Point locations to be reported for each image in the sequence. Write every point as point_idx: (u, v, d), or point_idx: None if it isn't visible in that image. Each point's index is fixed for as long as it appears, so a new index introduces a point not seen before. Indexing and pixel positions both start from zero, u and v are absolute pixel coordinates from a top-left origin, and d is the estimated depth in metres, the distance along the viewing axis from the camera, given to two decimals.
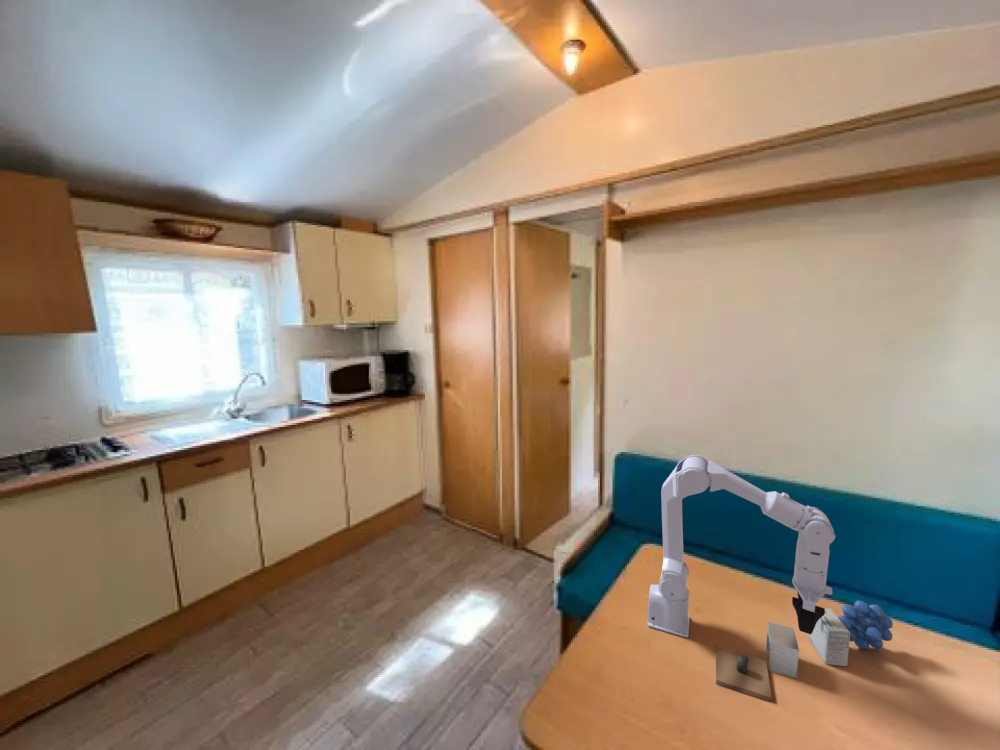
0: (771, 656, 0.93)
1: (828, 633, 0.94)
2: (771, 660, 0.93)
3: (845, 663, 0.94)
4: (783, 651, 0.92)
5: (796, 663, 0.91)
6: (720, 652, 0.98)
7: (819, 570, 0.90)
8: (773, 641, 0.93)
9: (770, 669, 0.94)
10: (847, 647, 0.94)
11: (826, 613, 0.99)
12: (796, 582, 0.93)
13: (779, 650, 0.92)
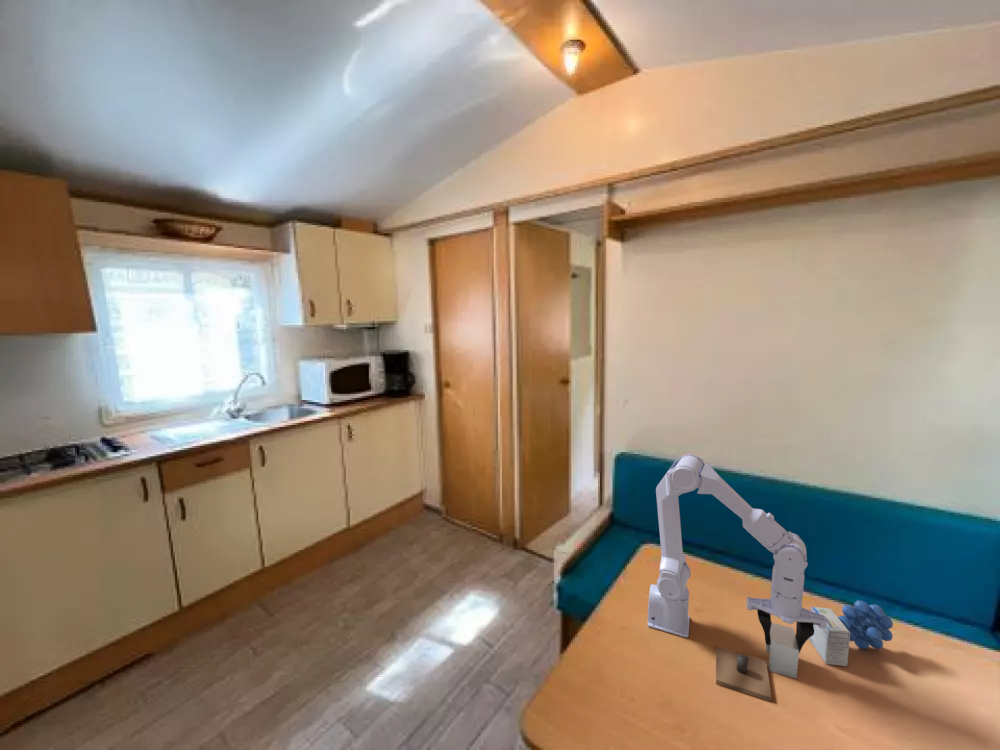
0: (771, 656, 0.93)
1: (828, 633, 0.94)
2: (771, 660, 0.93)
3: (845, 663, 0.94)
4: (783, 651, 0.92)
5: (796, 663, 0.91)
6: (720, 652, 0.98)
7: (792, 596, 0.90)
8: (773, 641, 0.93)
9: (770, 669, 0.94)
10: (847, 647, 0.94)
11: (826, 613, 0.99)
12: None
13: (779, 650, 0.92)
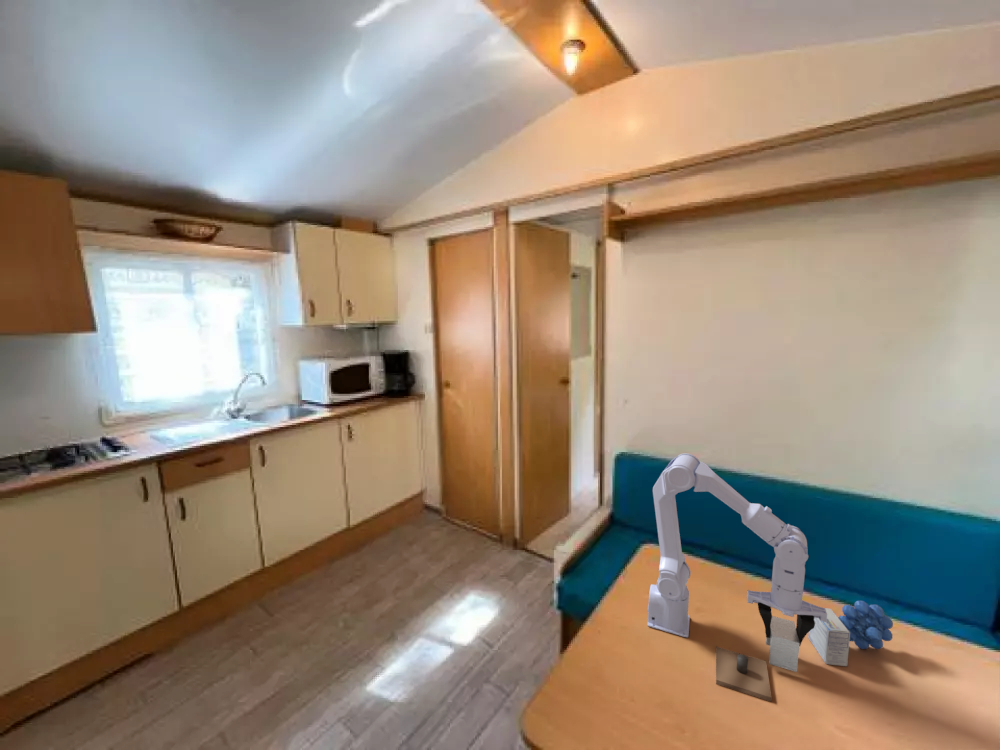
0: (771, 649, 0.93)
1: (828, 633, 0.94)
2: (771, 653, 0.93)
3: (845, 663, 0.94)
4: (783, 644, 0.92)
5: (796, 656, 0.91)
6: (720, 652, 0.98)
7: (793, 589, 0.90)
8: (774, 634, 0.93)
9: (770, 662, 0.93)
10: (847, 647, 0.94)
11: None
12: None
13: (779, 643, 0.92)
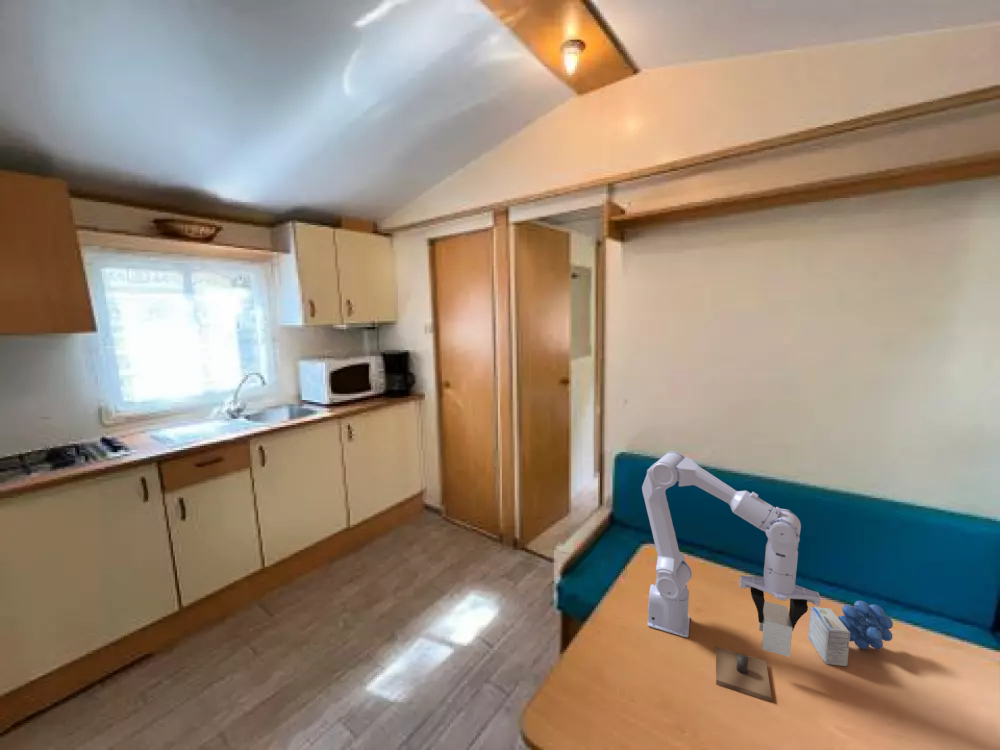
0: (764, 634, 0.92)
1: (828, 633, 0.94)
2: (764, 638, 0.92)
3: (845, 663, 0.94)
4: (776, 629, 0.91)
5: (789, 641, 0.90)
6: (720, 652, 0.98)
7: (784, 572, 0.89)
8: (766, 619, 0.92)
9: (763, 647, 0.92)
10: (847, 647, 0.94)
11: (826, 613, 0.99)
12: None
13: (772, 628, 0.91)
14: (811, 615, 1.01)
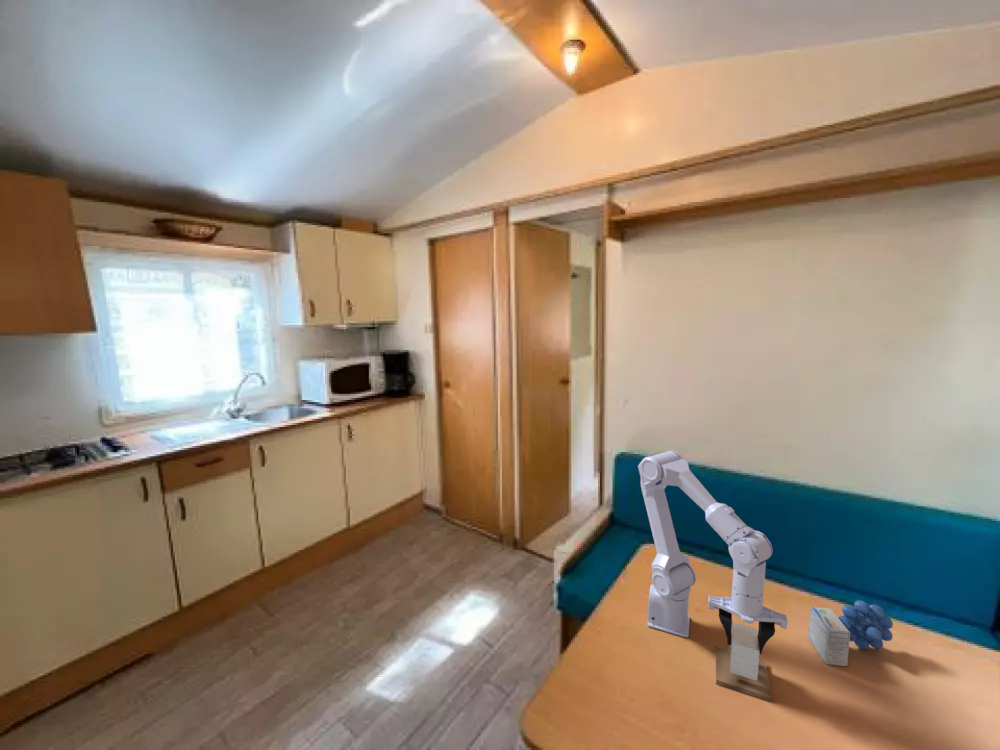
0: (732, 657, 0.90)
1: (828, 633, 0.94)
2: (732, 661, 0.90)
3: (845, 663, 0.94)
4: (744, 652, 0.89)
5: (757, 664, 0.88)
6: (720, 652, 0.98)
7: (745, 593, 0.88)
8: (734, 642, 0.90)
9: (731, 670, 0.91)
10: (847, 647, 0.94)
11: (826, 613, 0.99)
12: None
13: (740, 651, 0.89)
14: (811, 615, 1.01)
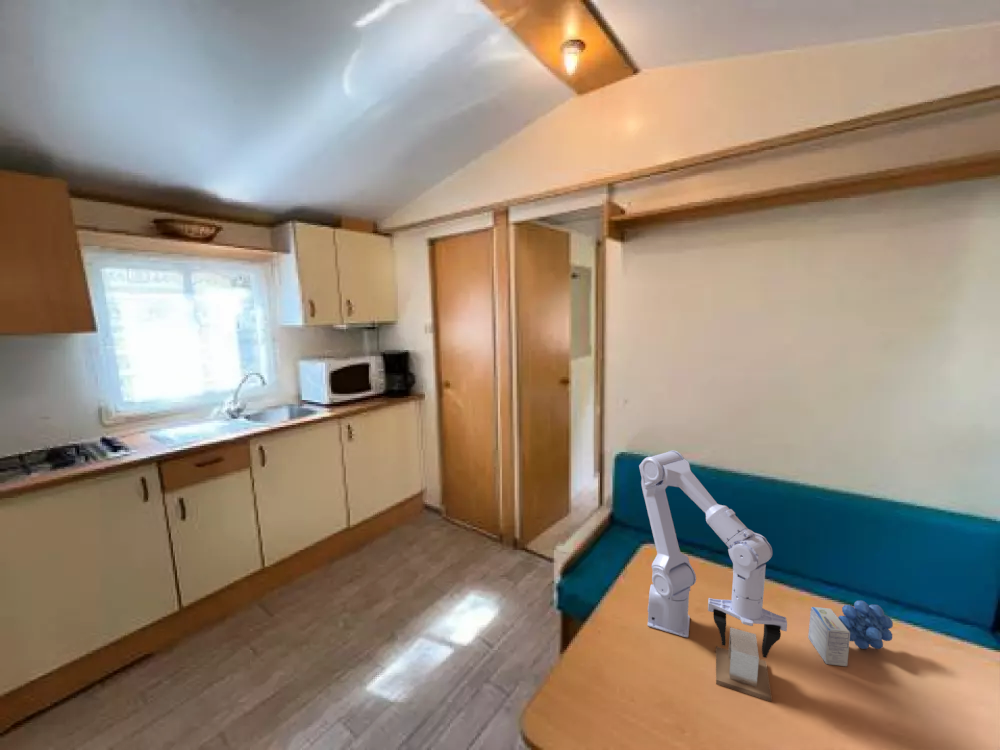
0: (731, 663, 0.90)
1: (828, 633, 0.94)
2: (731, 667, 0.90)
3: (845, 663, 0.94)
4: (743, 658, 0.89)
5: (756, 671, 0.88)
6: (720, 652, 0.98)
7: (745, 595, 0.88)
8: (733, 648, 0.90)
9: (730, 677, 0.91)
10: (847, 647, 0.94)
11: (826, 613, 0.99)
12: None
13: (739, 657, 0.89)
14: (811, 615, 1.01)
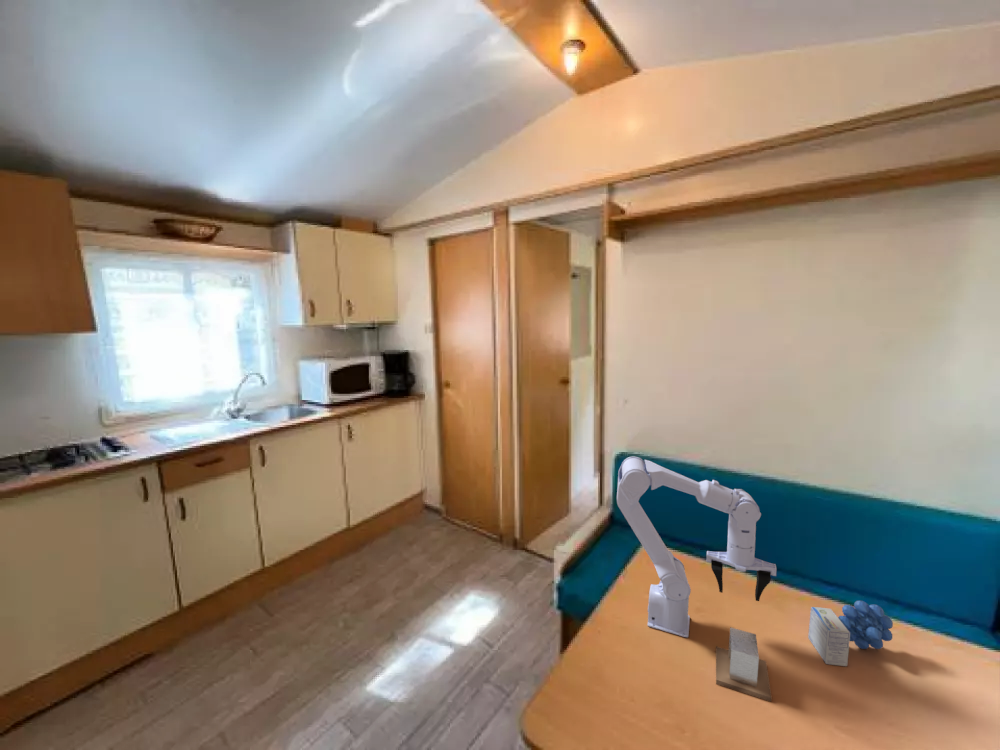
0: (731, 663, 0.90)
1: (828, 633, 0.94)
2: (731, 667, 0.90)
3: (845, 663, 0.94)
4: (743, 658, 0.89)
5: (756, 671, 0.88)
6: (720, 652, 0.98)
7: (749, 546, 0.99)
8: (733, 648, 0.90)
9: (730, 677, 0.91)
10: (847, 647, 0.94)
11: (826, 613, 0.99)
12: None
13: (739, 657, 0.89)
14: (811, 615, 1.01)
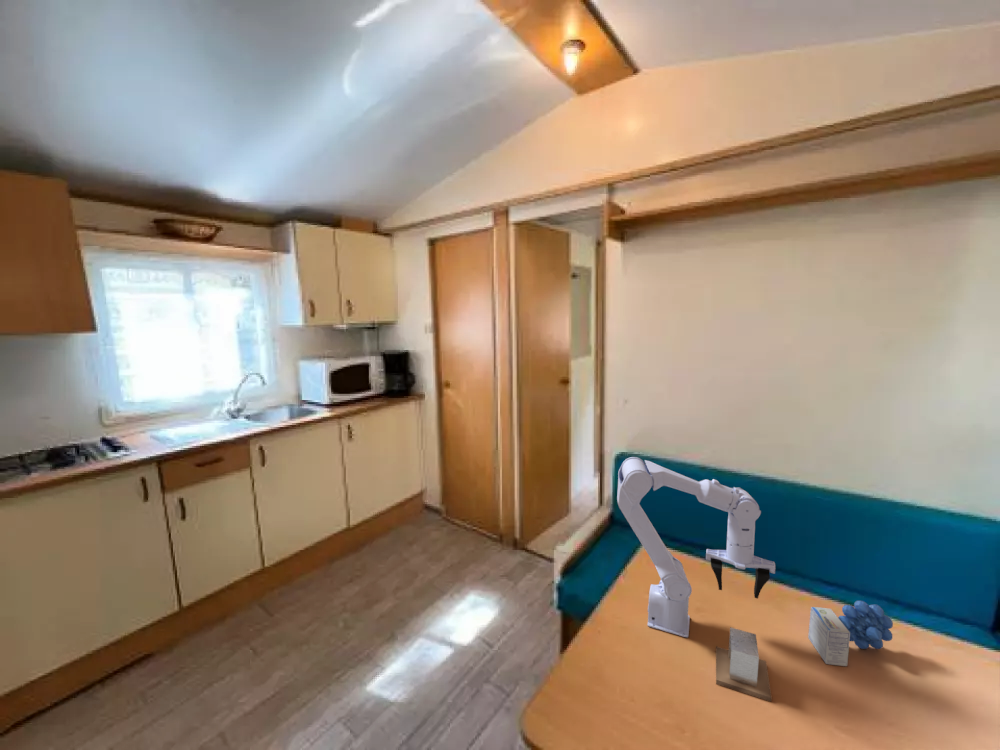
0: (731, 663, 0.90)
1: (828, 633, 0.94)
2: (731, 667, 0.90)
3: (845, 663, 0.94)
4: (743, 658, 0.89)
5: (756, 671, 0.88)
6: (720, 652, 0.98)
7: (749, 544, 0.99)
8: (733, 648, 0.90)
9: (730, 677, 0.91)
10: (847, 647, 0.94)
11: (826, 613, 0.99)
12: None
13: (739, 657, 0.89)
14: (811, 615, 1.01)
